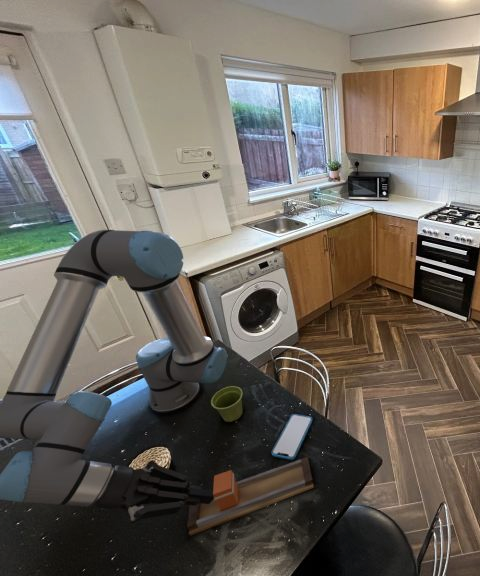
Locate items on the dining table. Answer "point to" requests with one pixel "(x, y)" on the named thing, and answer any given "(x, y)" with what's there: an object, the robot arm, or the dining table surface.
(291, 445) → the smartphone
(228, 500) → the orange block
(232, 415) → the plant pot
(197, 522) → the rail
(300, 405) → the dining table surface
